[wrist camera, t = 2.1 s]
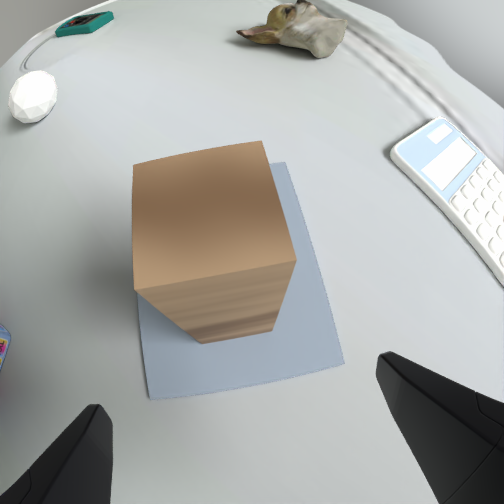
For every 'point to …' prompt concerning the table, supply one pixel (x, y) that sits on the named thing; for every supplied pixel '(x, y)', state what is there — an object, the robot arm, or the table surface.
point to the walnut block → (211, 241)
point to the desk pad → (255, 346)
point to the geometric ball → (32, 96)
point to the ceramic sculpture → (299, 29)
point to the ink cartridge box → (3, 343)
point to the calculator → (458, 185)
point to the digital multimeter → (84, 24)
